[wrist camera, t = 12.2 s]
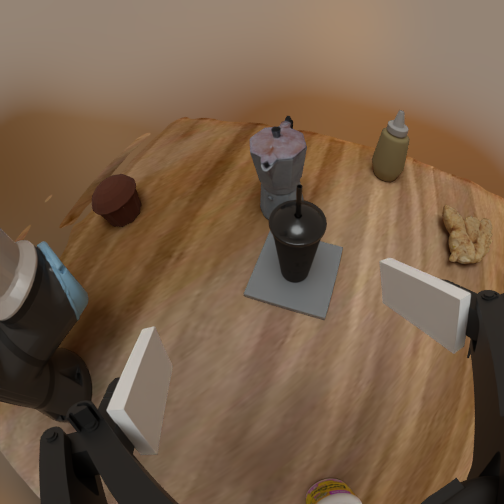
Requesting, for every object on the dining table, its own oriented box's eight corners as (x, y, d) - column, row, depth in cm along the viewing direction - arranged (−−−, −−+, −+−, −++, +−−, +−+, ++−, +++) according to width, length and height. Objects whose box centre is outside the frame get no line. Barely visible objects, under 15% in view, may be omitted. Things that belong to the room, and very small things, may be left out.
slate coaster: (244, 296, 47) (243, 293, 46) (271, 231, 54) (270, 228, 53) (324, 319, 43) (325, 318, 42) (342, 250, 50) (342, 247, 49)
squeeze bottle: (385, 189, 57) (405, 125, 42) (362, 168, 61) (375, 105, 46) (406, 179, 58) (426, 119, 43) (384, 159, 62) (398, 100, 47)
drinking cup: (265, 261, 49) (255, 176, 32) (303, 245, 50) (310, 158, 33) (284, 297, 45) (285, 221, 28) (324, 279, 46) (345, 198, 29)
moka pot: (248, 231, 54) (233, 148, 37) (268, 177, 62) (261, 100, 45) (297, 240, 52) (301, 155, 35) (310, 184, 60) (314, 105, 43)
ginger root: (428, 254, 46) (447, 224, 40) (432, 214, 55) (446, 188, 49) (484, 289, 41) (506, 263, 35) (480, 244, 50) (497, 221, 44)
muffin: (135, 188, 65) (119, 159, 57) (154, 208, 60) (138, 177, 52) (99, 216, 62) (79, 189, 53) (114, 240, 57) (92, 213, 48)
